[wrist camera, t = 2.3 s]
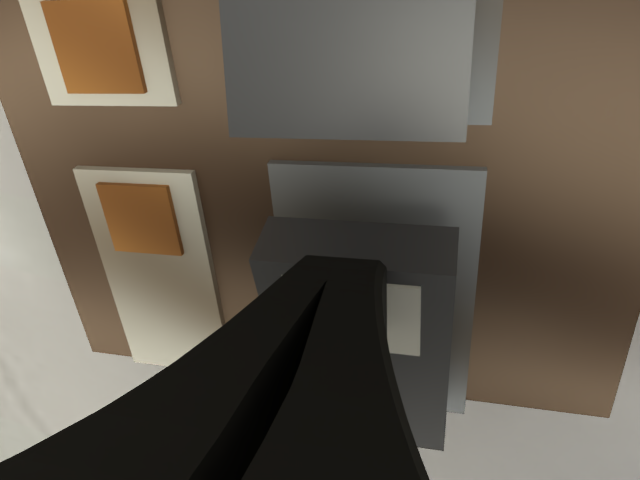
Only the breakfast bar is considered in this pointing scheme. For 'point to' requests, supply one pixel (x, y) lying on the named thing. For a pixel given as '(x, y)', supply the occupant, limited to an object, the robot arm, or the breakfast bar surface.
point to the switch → (402, 298)
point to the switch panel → (342, 185)
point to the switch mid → (348, 68)
